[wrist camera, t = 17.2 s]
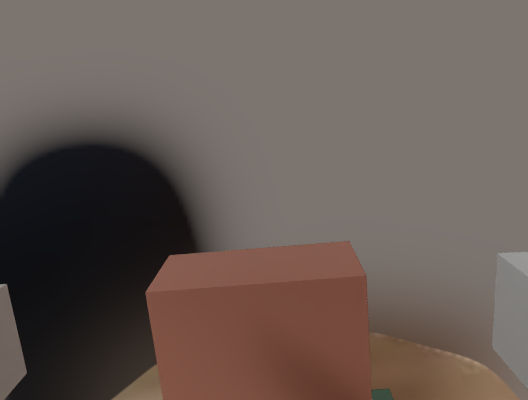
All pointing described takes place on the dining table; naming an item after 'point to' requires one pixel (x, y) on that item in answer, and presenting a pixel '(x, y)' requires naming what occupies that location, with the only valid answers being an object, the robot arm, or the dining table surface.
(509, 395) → the dining table surface
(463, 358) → the dining table surface
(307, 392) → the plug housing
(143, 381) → the dining table surface
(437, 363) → the dining table surface
